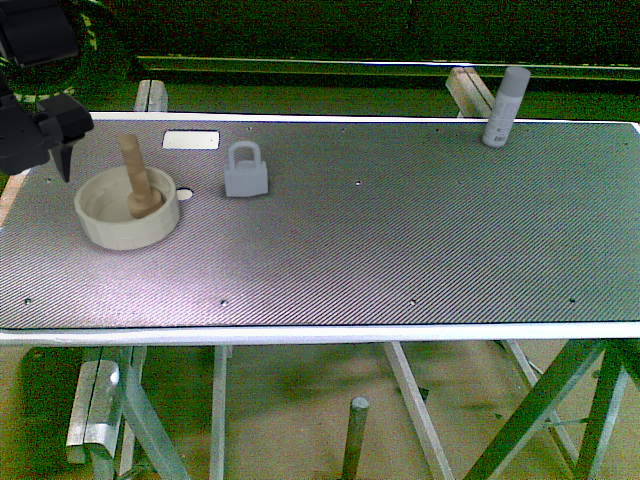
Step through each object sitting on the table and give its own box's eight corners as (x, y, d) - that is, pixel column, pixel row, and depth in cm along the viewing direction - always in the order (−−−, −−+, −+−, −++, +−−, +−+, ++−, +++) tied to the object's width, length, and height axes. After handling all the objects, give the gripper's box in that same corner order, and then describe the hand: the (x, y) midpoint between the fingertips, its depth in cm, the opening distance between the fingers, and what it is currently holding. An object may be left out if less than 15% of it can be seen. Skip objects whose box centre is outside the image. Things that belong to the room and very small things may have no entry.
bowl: (93, 264, 69) (82, 237, 65) (79, 204, 77) (68, 177, 73) (191, 236, 74) (186, 209, 70) (167, 183, 82) (162, 157, 79)
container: (507, 139, 99) (534, 70, 88) (501, 150, 96) (528, 79, 85) (485, 132, 100) (509, 63, 90) (478, 142, 97) (502, 72, 87)
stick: (132, 223, 74) (110, 151, 65) (127, 203, 77) (106, 131, 68) (166, 216, 76) (149, 144, 66) (160, 196, 79) (143, 125, 70)
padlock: (265, 181, 84) (263, 132, 77) (268, 195, 82) (267, 146, 74) (225, 184, 83) (219, 135, 76) (226, 199, 80) (221, 149, 73)
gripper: (-115, 146, 39) (-27, 271, 50) (99, 78, 49) (132, 195, 60) (-151, 95, 44) (-64, 219, 55) (49, 43, 54) (89, 156, 65)
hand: (29, 196), depth 59 cm, fingers open, 9 cm apart
